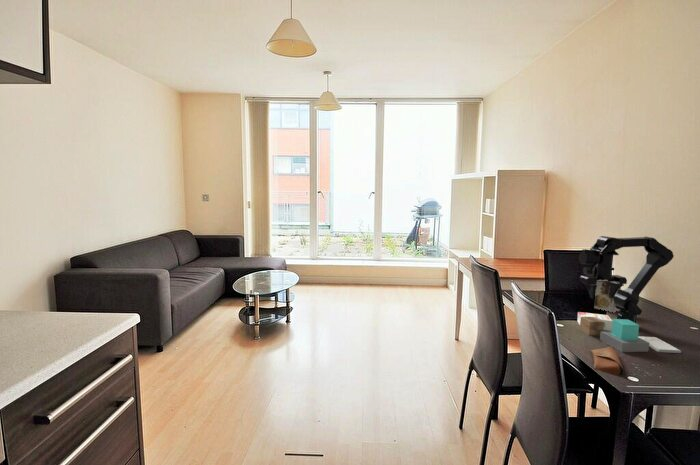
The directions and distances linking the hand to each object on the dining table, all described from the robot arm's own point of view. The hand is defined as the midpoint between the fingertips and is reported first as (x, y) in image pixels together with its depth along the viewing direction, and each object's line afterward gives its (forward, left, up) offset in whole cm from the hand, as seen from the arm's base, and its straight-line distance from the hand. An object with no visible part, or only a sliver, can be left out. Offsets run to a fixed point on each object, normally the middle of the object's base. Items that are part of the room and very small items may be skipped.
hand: (601, 298), depth 165 cm
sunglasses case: (+24, +36, -13) cm, 45 cm away
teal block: (+6, +22, -9) cm, 25 cm away
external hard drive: (-8, +22, -13) cm, 27 cm away
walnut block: (+10, +9, -13) cm, 19 cm away
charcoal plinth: (+6, +22, -13) cm, 26 cm away
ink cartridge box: (+10, 0, -10) cm, 14 cm away
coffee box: (-19, -21, -13) cm, 31 cm away
